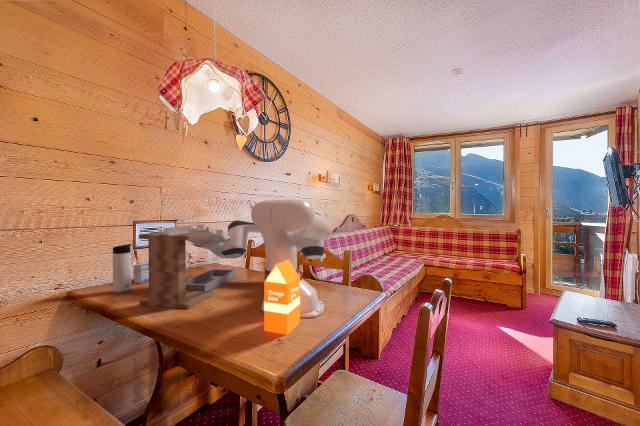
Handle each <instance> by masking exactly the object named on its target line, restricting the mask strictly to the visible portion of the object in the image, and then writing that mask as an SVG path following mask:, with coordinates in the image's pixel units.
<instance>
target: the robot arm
mask: <svg viewBox="0 0 640 426" xmlns="http://www.w3.org/2000/svg"><path fill="white" fill-rule="evenodd" d="M250 218H251V221H252V222H249V221H244V220H237V219H236V220H233V221H231V222H230V223H229V224H228V225H227V231H226V230H224V229H214V228H213V227H211V226H206V227H205V228H204V230H200V231H193V232H212V236H208V237H203V238H197V239H192V240H186V241H188V242H189V243H191V244H192V245H193V246H194V247H197V248H202V249H204V250H208V251H210V252H211V253H212V254H213V255H214V256H216V257H218V258H220V259H225V260H226V259H237V258H240V257H242V256H244V255H245V254H246V253H247V248H248V234H249V233H256V234H257V233H260V234H261V237H262V240H263V242H264V249H265V269H264V275H263V277H264V281H265V280H266V279H267V277H268V276H269V274H270V272H271V271H272V269H273V268H274V266H275V265H276V264H278V263H280V262H283V261H285V260H288V259H289V261H290V262H291V264H292V266H293V267H294V269H295V271H296V272H297V274H298V276H299V277H300V318H317V317H318V316H320V315H322V314H323V312H324V310H325V304H324V302H323V301H322V300H319V298H318V297H319V296H318V292H317V289H316V288H315V287H313V285H311V284H309V283H308V282H307V281H305V280H304V279H303V273H304V270H303V269H301V270H300V269H299V268H298V252H300V253H301V255H302V256H303V257H304V258H305V259H309V260H317V259H320V258H321V257H323V255H325V241H326V240H327V239H329V238H330V237H331V235H332V233H333V227H332V224H331V223H330V222H329V220H328V219H326V218H325V217H324V216H322V215H321V214H320V213H318V212H315V210H314V208H313V207H312V204H311V203H310V202H306V201H303V200H301V199H300V200H299V199H266V200H262V201H259V202H256V203H255V204H254V205H253V207H252V208H251V213H250ZM261 304H262V305H261V311H263V313H264V299H263V300H262V303H261Z"/></svg>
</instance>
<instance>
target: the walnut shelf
mask: <svg viewBox="0 0 640 426" xmlns="http://www.w3.org/2000/svg"><path fill="white" fill-rule="evenodd" d="M208 236H212V232H186V233H179V234H172V235H163V231H157V232H150V233H148V232H147V233H142V234H141V233H140V234H138V239H139V240H143V239H144V240H148V262H149V281H148V297H146V298H144V299H141V300H139V302H138V303H139V306H143V307H144V306H145V307H157V308H159V307H160V308H171V309H183V310H185V309H186V310H190V309H192V308H193V307H194V306H197V305H198V304H200V303H202V302H204V301H205V300H207V299H208V297H209V298H211V297H212V296H213V291H210V292H206V291H189V290H186V280H187V279H186V278H187V277H186V276H187V275H186V274H187V270H186V268H187V267H186V265H187V263H186V260H187V259H186V256H187V255H186V254H187V253H186V246H187V245H186V244H187V243H186V241H187V240H192V239H197V238H203V237H208ZM201 301H202V302H201ZM196 304H197V305H196Z"/></svg>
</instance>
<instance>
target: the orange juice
mask: <svg viewBox="0 0 640 426" xmlns="http://www.w3.org/2000/svg"><path fill="white" fill-rule="evenodd" d="M263 282H264V283H263V285H264V295H263V300H264V312H263V313H264V316H263V317H264V318H263V319H264V322H263V323H264V325H263V326H264V328H263V329H264V330H263V331H265V332H270V333H274V334H281V335H289V334H290V333H291V332H292V331H293V330H294V329H295V328H296V327H297V326H299V324H300V319H301V317H300V277H299V276H298V274H297V272H296V271H295V269H294V267H293V266H292V264H291V262H290V261H289V259H288V260H285V261H283V262H280V263H278V264H276V265H275V266H274V268H273V269H272V271H271V272H270V274H269V276H268V277H267V279H266V280H264V281H263Z"/></svg>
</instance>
